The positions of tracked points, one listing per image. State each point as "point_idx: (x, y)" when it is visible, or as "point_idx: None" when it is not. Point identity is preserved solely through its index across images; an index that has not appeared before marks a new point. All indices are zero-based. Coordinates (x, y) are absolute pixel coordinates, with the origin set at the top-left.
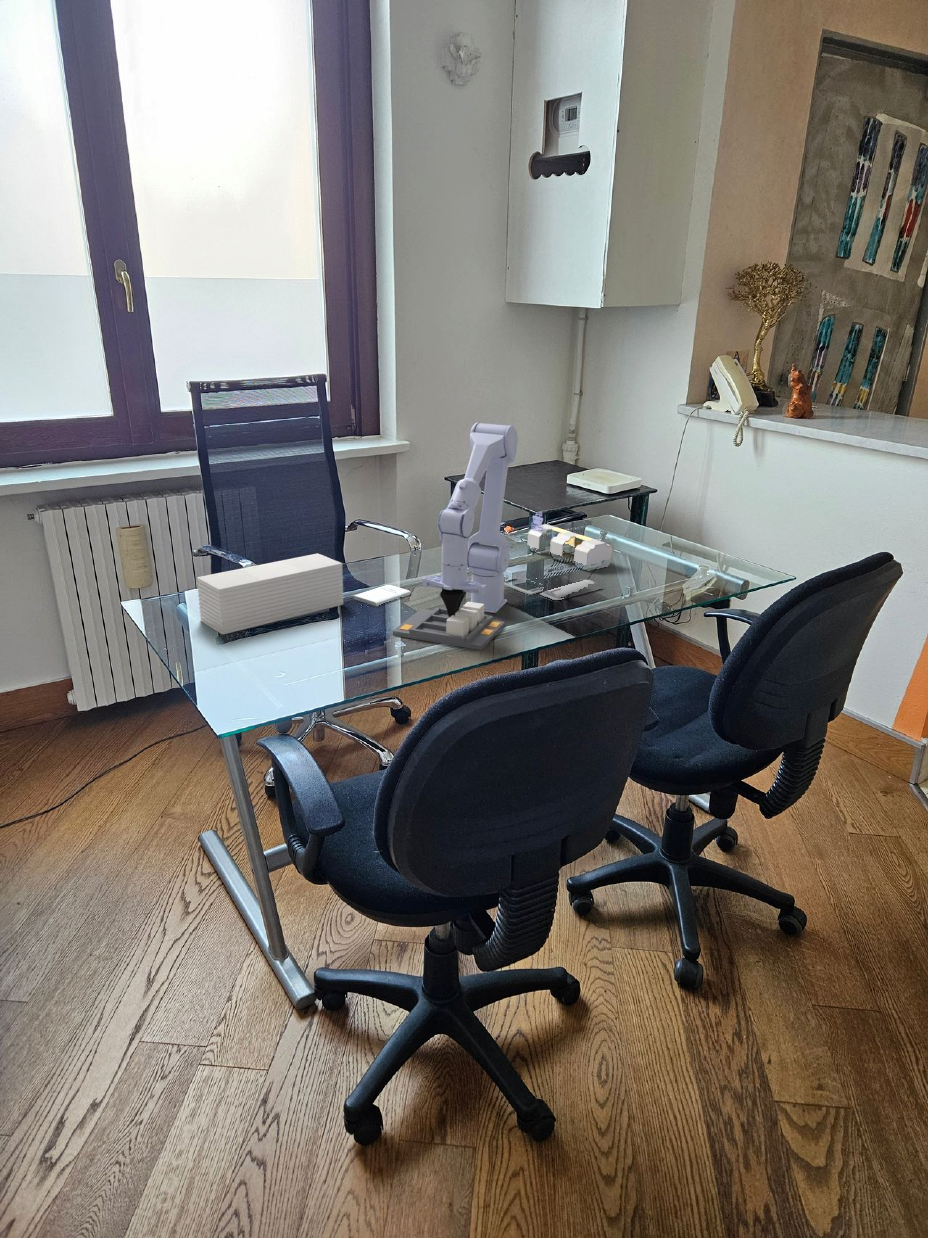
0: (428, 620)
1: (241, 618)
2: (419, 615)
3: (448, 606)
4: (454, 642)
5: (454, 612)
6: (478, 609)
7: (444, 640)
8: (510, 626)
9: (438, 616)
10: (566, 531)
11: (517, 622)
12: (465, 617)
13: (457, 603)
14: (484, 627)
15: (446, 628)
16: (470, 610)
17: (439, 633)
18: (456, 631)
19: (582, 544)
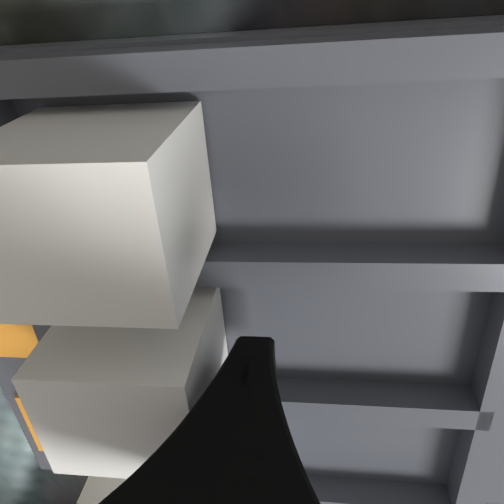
0: (482, 354)
1: None
2: None
3: (255, 445)
4: (89, 43)
5: (201, 397)
6: (85, 501)
7: (189, 39)
8: (26, 450)
9: (415, 412)
10: None
11: (34, 491)
12: (24, 321)
13: (124, 488)
14: None
15: (174, 126)
16: (104, 467)
17: (250, 76)
18: (65, 124)
19: None
